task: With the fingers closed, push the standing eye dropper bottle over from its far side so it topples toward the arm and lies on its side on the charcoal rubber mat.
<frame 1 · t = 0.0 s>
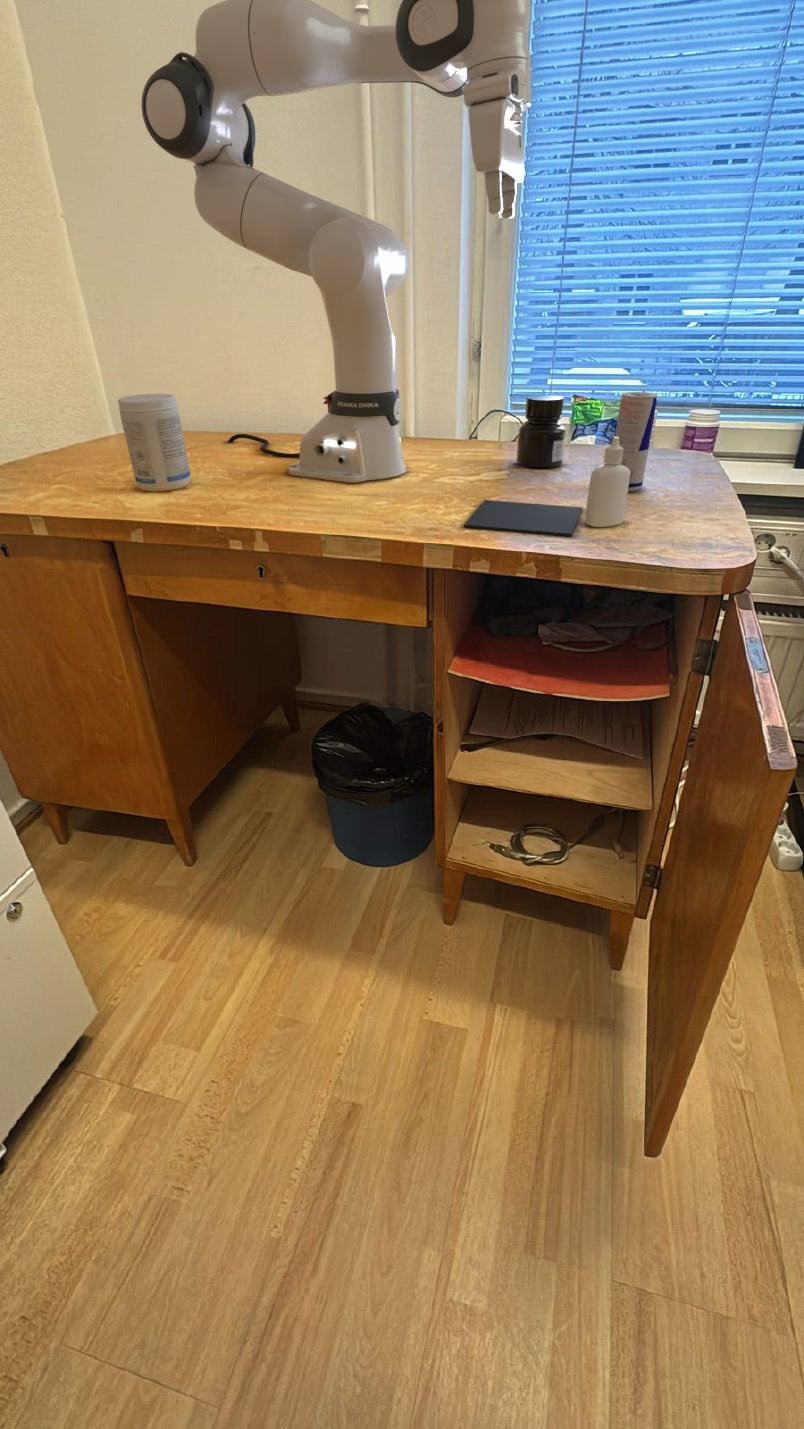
hand: (502, 216, 103), 39 cm above the table, tool pointing down, fingers open, 8 cm apart
supplement tub: (164, 487, 123), on the table
mat: (525, 518, 104), on the table
eye dropper bottle: (603, 525, 101), on the table
ink bottle: (538, 465, 134), on the table
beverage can: (624, 489, 118), on the table
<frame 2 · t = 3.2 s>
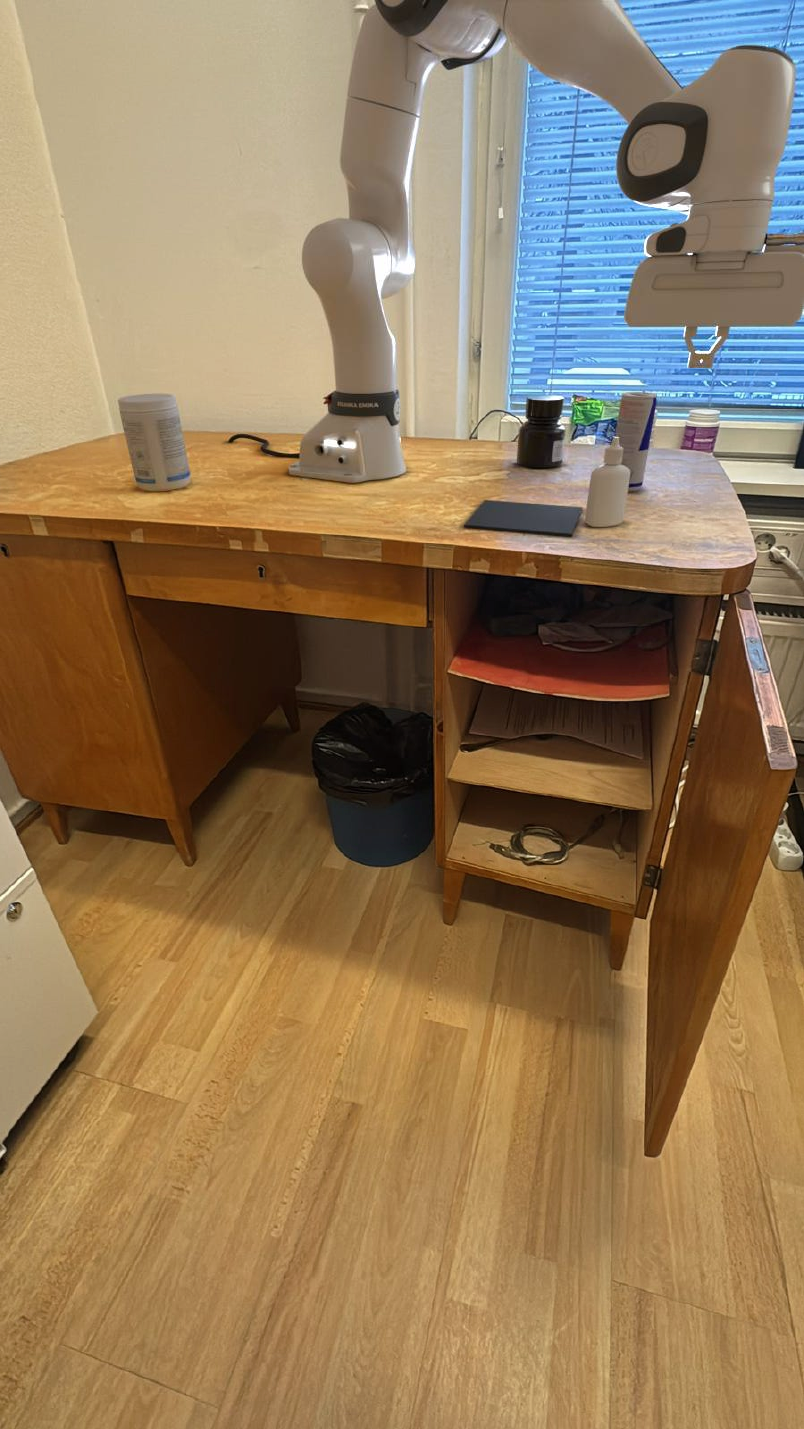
hand: (699, 368, 87), 21 cm above the table, tool pointing down, fingers closed
nothing on the table moved.
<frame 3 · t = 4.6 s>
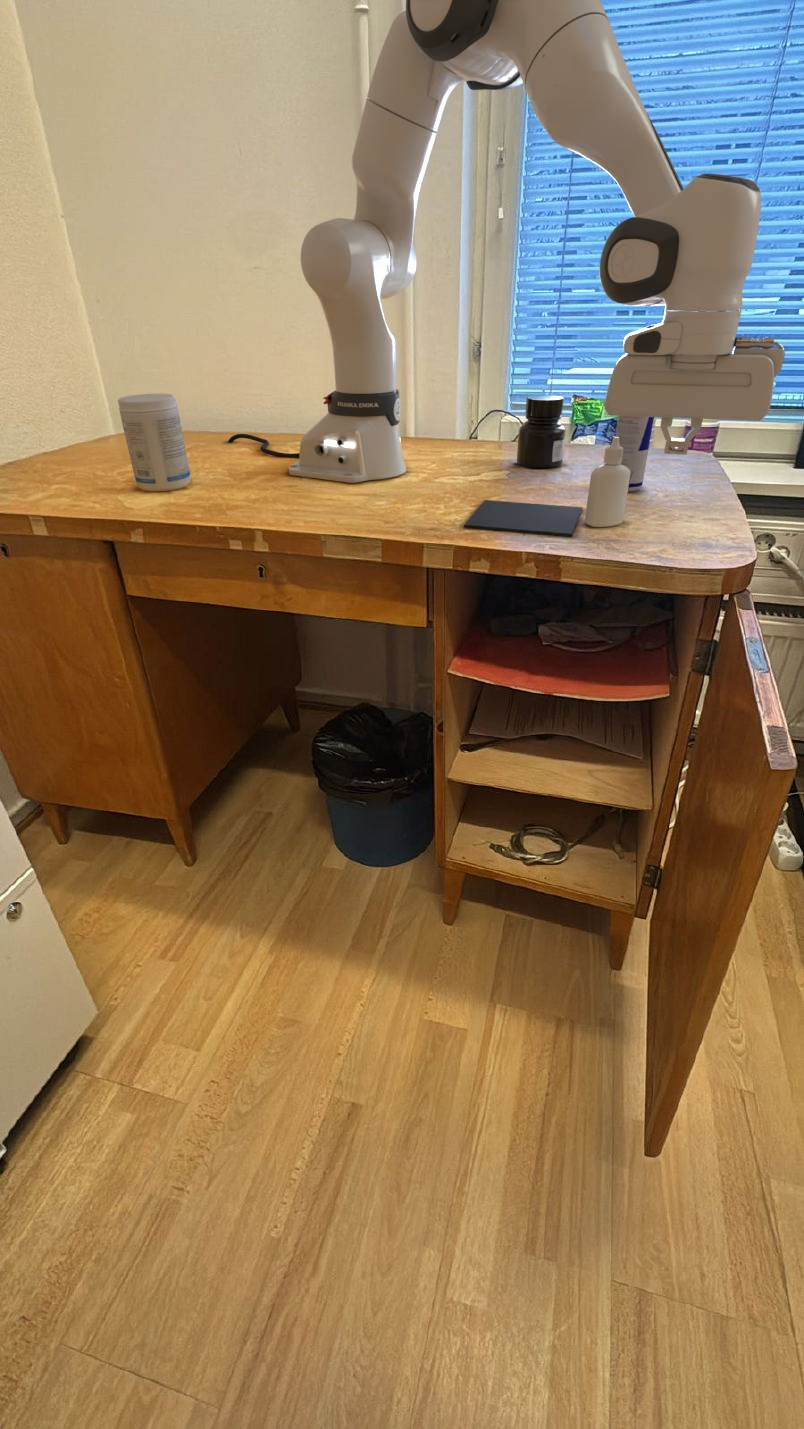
hand: (675, 453, 93), 10 cm above the table, tool pointing down, fingers closed
nothing on the table moved.
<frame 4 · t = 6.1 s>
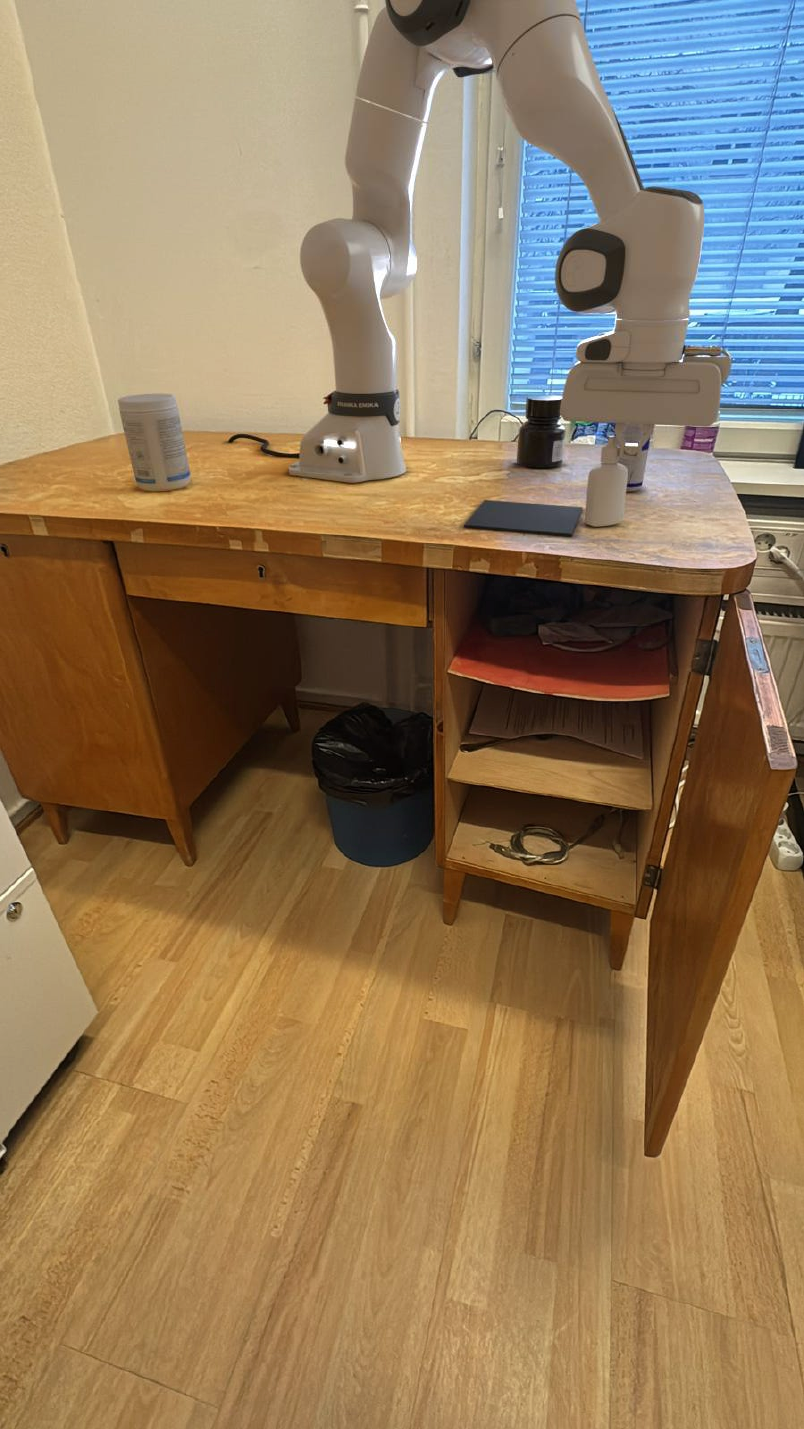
hand: (629, 458, 95), 9 cm above the table, tool pointing down, fingers closed
eye dropper bottle: (603, 524, 101), on the table, touching gripper
everything else where it was.
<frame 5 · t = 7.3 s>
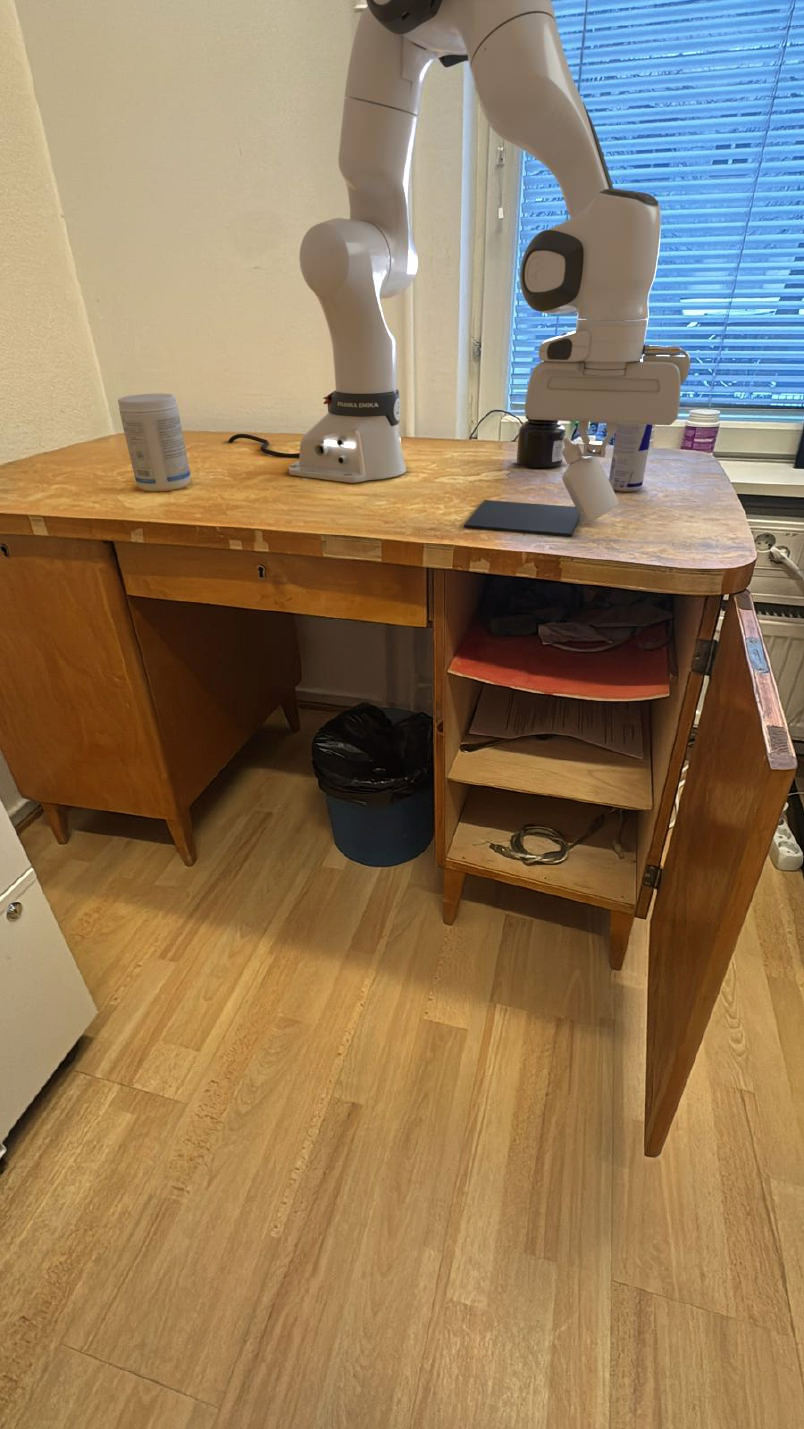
hand: (593, 456, 96), 9 cm above the table, tool pointing down, fingers closed
eye dropper bottle: (602, 515, 100), point 1 cm above the table, touching gripper
everything else where it was.
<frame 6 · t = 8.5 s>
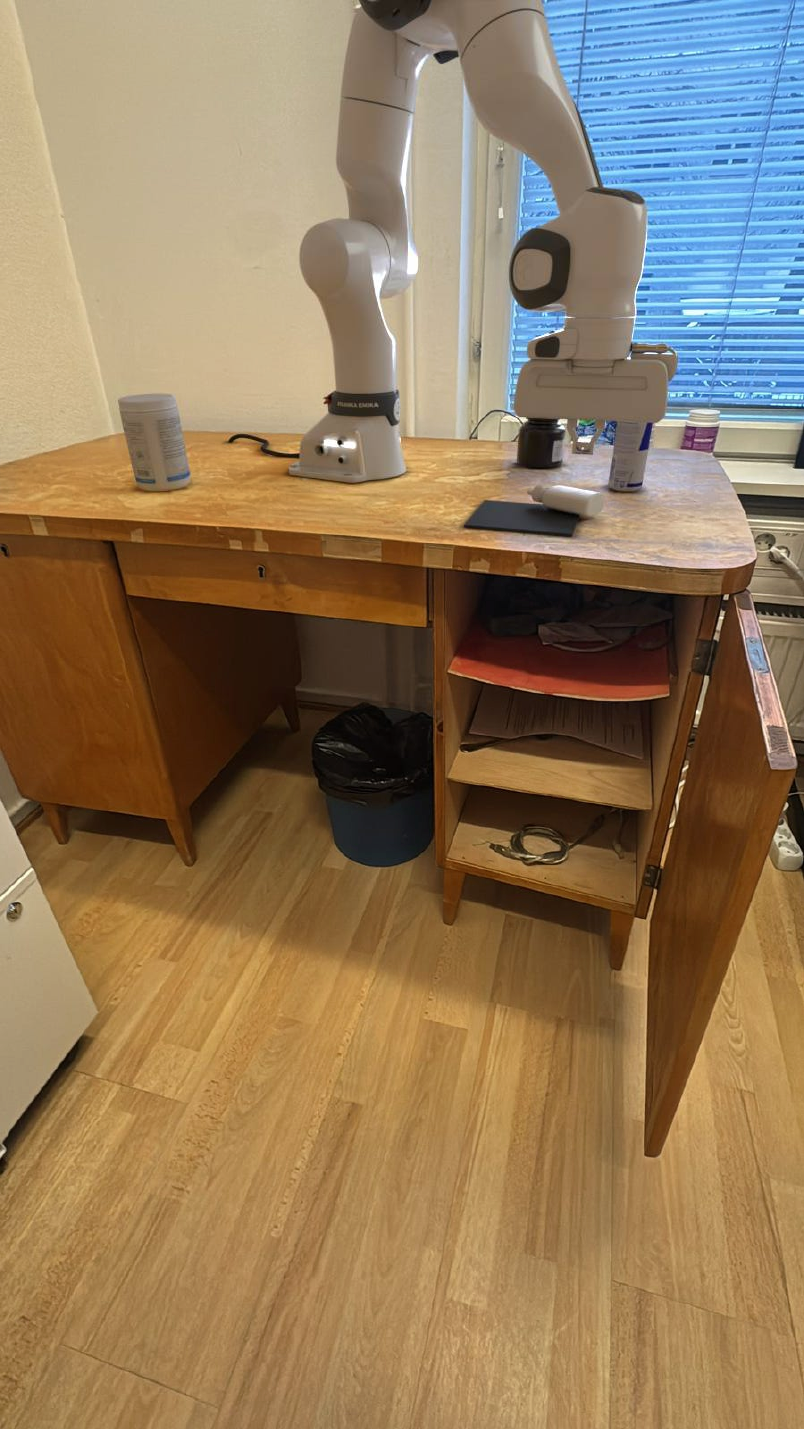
hand: (582, 453, 96), 10 cm above the table, tool pointing down, fingers closed
eye dropper bottle: (597, 505, 101), point 2 cm above the table, touching mat
everything else where it was.
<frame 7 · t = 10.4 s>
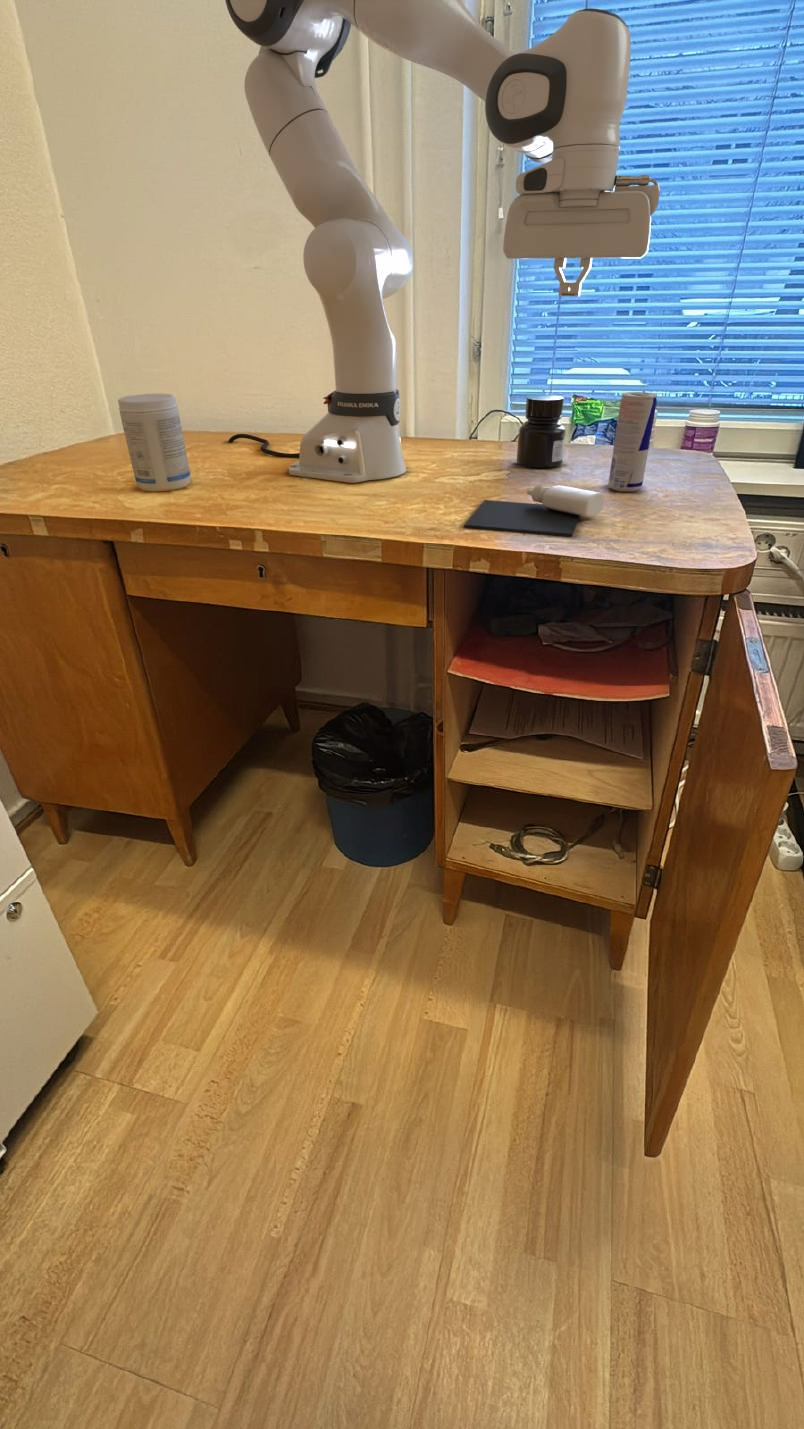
hand: (569, 296, 100), 28 cm above the table, tool pointing down, fingers closed
nothing on the table moved.
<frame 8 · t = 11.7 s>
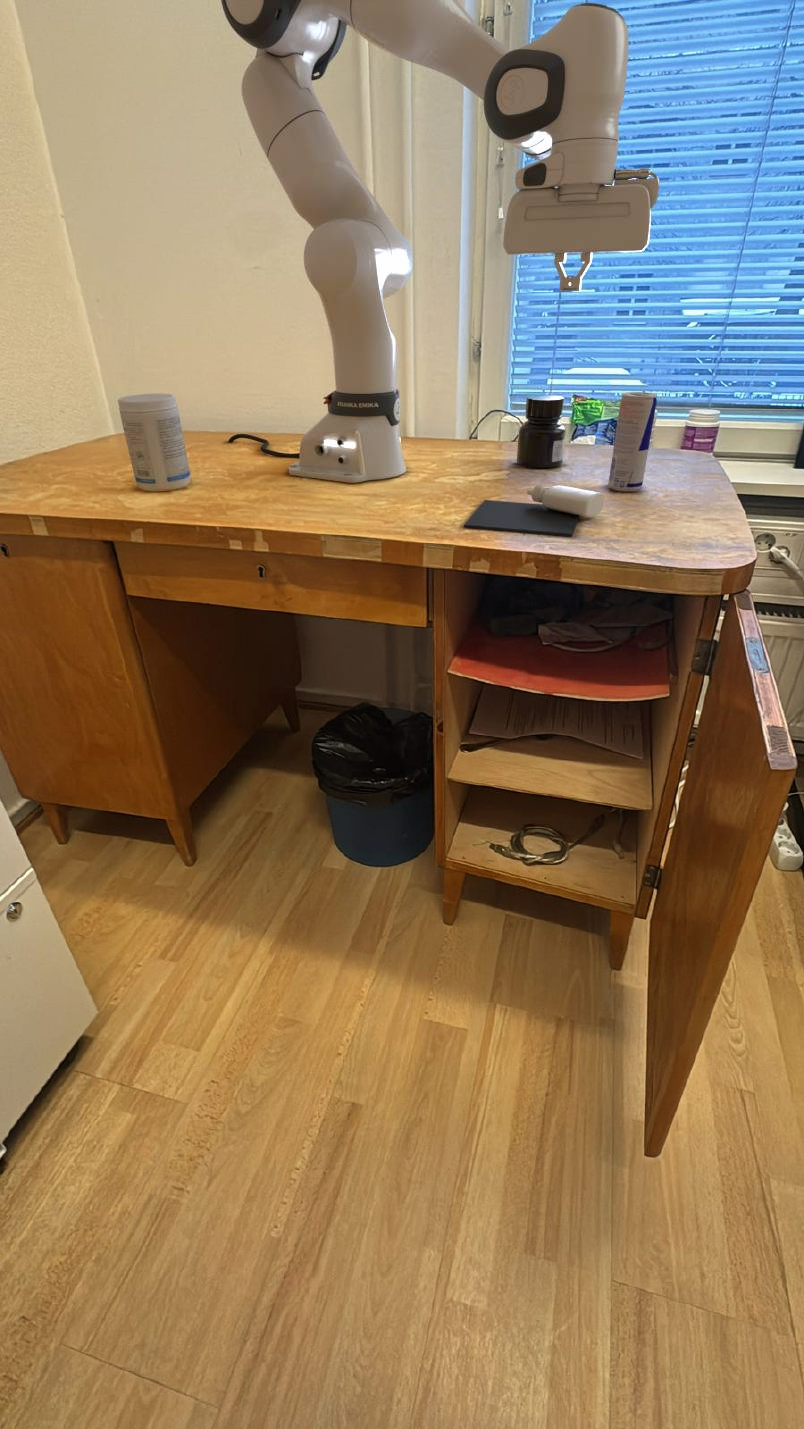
hand: (569, 291, 100), 29 cm above the table, tool pointing down, fingers closed
nothing on the table moved.
at the end: eye dropper bottle tilted 90°; eye dropper bottle touching mat; eye dropper bottle inside the target area (6.6 cm from its centre), point 2.1 cm above the table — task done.
